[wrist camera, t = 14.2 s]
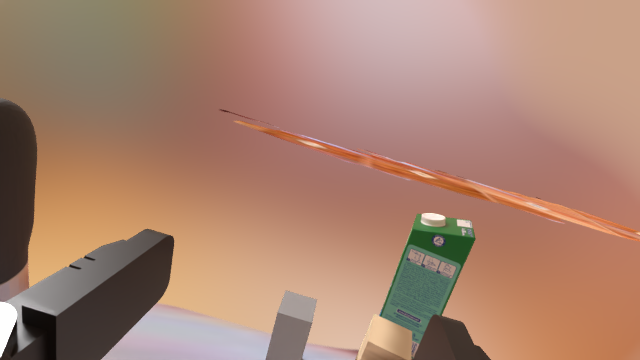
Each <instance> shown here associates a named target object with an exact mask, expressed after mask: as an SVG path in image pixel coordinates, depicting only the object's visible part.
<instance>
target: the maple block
mask: <svg viewBox="0 0 640 360" xmlns="http://www.w3.org/2000/svg"><path fill="white" fill-rule="evenodd" d="M411 353H412V331H411V330H408V329H406V328H404V327H402V326H400V325H397V324H395V323H393V322H391V321H389V320H387V319H384V318H382V317H380V316H378V315H376V314H374V315H373V318H372V321H371V323H370V325H369V328H368V330H367V333H366V335H365V337H364V340H363V342H362V345H361V347H360V350H359V352H358V354H357V357H356V359H355V360H411Z"/></svg>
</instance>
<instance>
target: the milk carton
mask: <svg viewBox="0 0 640 360" xmlns="http://www.w3.org/2000/svg"><path fill="white" fill-rule="evenodd" d="M474 241H475V235H474V230H473V226H472V222H471V221H470V220H462V219H454V218H447V217H444V216H442V215H439V214H434V213H425V214H417V216H416V218H415V221H414V224H413V226H412V229H411V232H410V234H409V237H408V240H407V243H406V245H405V248H404V251H403V254H402V256H401V259H400V261H399V264H398V267H397V269H396V272H395V275H394V278H393V280H392V283H391V286H390V288H389V291H388V294H387V296H386V299H385V302H384V304H383V307H382V310H381V313H380V315H379V316H380V317H382V318H384V319H387V320H389V321H391V322H393V323H395V324H397V325H400V326H402V327H404V328H406V329H408V330H411V331H412V353H411V358H412V359H414V356H415V353H416V351H417V348H418V346H419V344H420V341H421V339H422V337H423V335H424V332H425V330H426V328H427V325H428V323H429V321H430V319H431V317H432V316H433V315H434V314H437V315H440V316H442V313H443V311H444V309H445V307H446V304H447V302H448V300H449V298H450V295H451V293H452V291H453V288H454V286H455V284H456V282H457V279H458V277H459V275H460V273H461V270H462V268H463V266H464V264H465V262H466V259H467V257H468V255H469V252H470V250H471V248H472V246H473V243H474Z"/></svg>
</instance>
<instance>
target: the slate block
mask: <svg viewBox="0 0 640 360" xmlns="http://www.w3.org/2000/svg"><path fill="white" fill-rule="evenodd" d="M315 306H316V299H313V298H309V297H306V296H302V295H299V294H296V293H293V292H289V291H286V292H285V294H284V297H283V299H282V302H281V305H280V307H279V310H278V313H277V317H276V321H275V325H274V329H273V333H272V337H271V341H270V344H269V348H268V352H267V356H266V360H301V359H302V356H303V352H304V349H305V345H306V342H307V339H308V335H309V332H310V328H311V325H312V321H313V316H314V311H315Z"/></svg>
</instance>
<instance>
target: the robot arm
mask: <svg viewBox="0 0 640 360" xmlns="http://www.w3.org/2000/svg"><path fill="white" fill-rule="evenodd" d="M36 165H37V143H36V135H35V131H34V127H33V125H32V123H31V120H30V118H29V117H28V115H27V114H26V112H25V111H24V110H23V109H22V108H21V107H20V106H18V105H16V104H15V103H13V102H11V101H9V100H6V99H3V98H0V360H101V359H102V358H103V357H104V356H105V355H106V354H107V353H108V352H109V351H110V350H111V349H112V348H113V347H114V346H115V345H116V344H117V343H118V342H119V341H120V340H121V339H122V337H123V336H124V335H125V334H126V333H127V332H128V331H129V330H130V329H131V328H132V327H133V326H134V325H135V324H136V323H137V322H138V321H139V320H140V319H141V318H142V317H143V316H144V315H145V314H146V313H147V312H148V311H149V310H150V309H151V308H152V307H153V306H154V305H155V304H156V303H157V302H158V301H159V300H160V298H161V297H162V296H163V294H164V292H165V291H166V289H167V286H168V283H169V280H170V273H171V265H172V256H173V249H174V238H173V237H172V236H171V235H167V234H164V233H160V232H157V231H154V230H150V229H145V230H143V231H141V232H140V233H138V234H137V235H135V236H133V237H132V238H130V239H129V240H127V241H126V240H120V241H117V242H114V243H110V244H107V245H104V246H101V247H99V248H98V249H96V250H94V251H92V252H91V253H89V254H87V255H85V257H84V258H80V259H78V260H77V261H75V262H73V263H72V264H70V266H69V267H65V268H63V269H61V270H60V271H58V272H56V273H54V274H53V275H51V276H49V277H47V278H46V279H44V280H42V281H40V282H39V283H37V284H35V285H33V286H32V287H30V288H29V274H28V245H29V241H30V237H31V233H32V228H33V222H34V198H35V180H36ZM414 360H491V359H490V358H489V357H488V356H487V355H486V353H485V352H484V351H483V350H482V349H481V348H480V347H479V346H476V345H474V343H473V341H472V339H471V337H470V335H469V333H468V331H467V329H466V327H465V325H464V324H463V323H462V322H461V321H457V320H453V319H450V318H447V317H443V316H440V315H437V314H434V315H433V316H432V317H431V319H430V321H429V323H428V325H427V328H426V330H425V332H424V335H423V337H422V339H421V341H420V344H419V346H418V348H417V351H416V353H415V356H414Z"/></svg>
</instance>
